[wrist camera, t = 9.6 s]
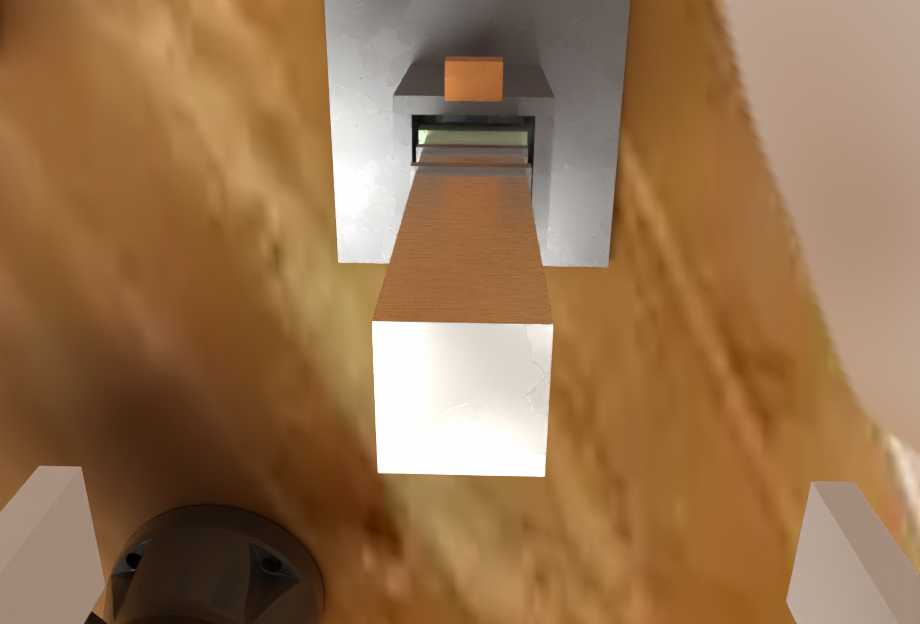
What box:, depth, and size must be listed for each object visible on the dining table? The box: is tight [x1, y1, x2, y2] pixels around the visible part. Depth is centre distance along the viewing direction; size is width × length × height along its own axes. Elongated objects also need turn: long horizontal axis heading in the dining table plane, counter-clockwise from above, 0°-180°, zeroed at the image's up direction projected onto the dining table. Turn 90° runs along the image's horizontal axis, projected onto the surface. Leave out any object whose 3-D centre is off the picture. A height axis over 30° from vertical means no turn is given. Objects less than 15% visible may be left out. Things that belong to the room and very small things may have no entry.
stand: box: [324, 0, 630, 267], centre depth 43 cm, size 16×16×12 cm
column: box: [372, 122, 553, 477], centre depth 30 cm, size 5×5×22 cm
